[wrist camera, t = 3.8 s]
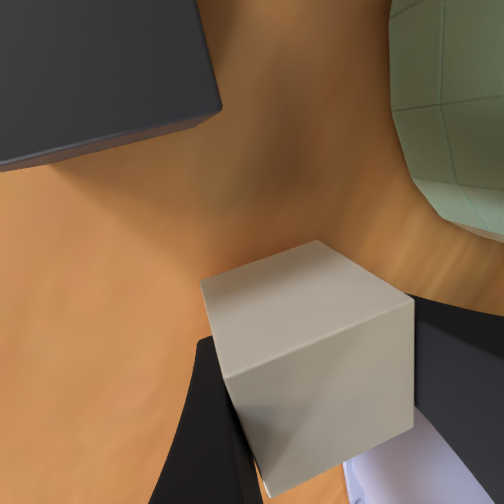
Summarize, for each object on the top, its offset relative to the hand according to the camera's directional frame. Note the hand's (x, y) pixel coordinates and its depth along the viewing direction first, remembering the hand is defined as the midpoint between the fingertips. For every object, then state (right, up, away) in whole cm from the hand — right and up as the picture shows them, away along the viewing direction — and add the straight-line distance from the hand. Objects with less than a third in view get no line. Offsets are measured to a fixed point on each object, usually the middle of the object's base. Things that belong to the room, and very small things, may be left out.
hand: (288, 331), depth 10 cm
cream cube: (0, 0, +1) cm, 1 cm away
